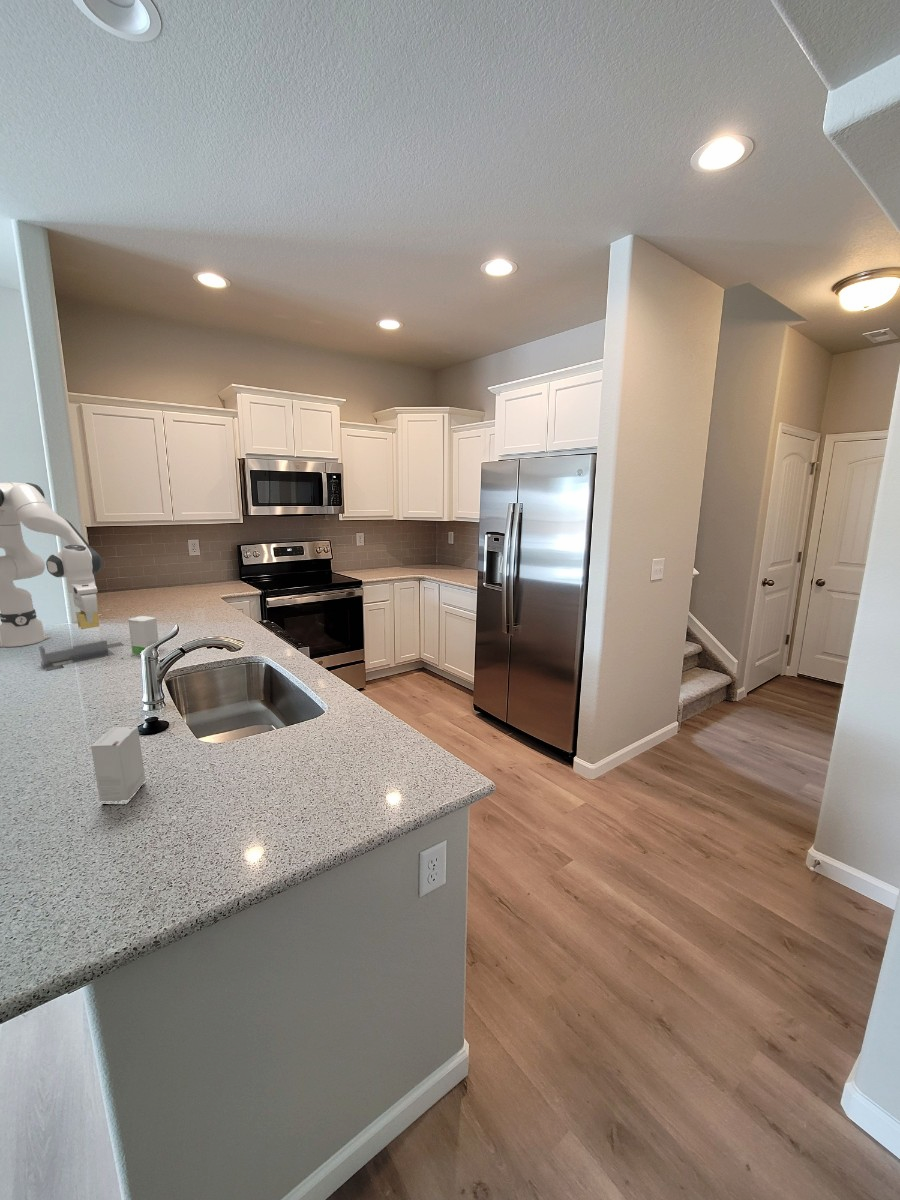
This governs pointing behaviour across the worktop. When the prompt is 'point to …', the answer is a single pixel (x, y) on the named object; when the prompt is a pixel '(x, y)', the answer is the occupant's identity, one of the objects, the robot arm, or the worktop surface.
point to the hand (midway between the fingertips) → (87, 620)
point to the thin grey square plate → (115, 645)
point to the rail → (74, 655)
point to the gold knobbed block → (83, 623)
